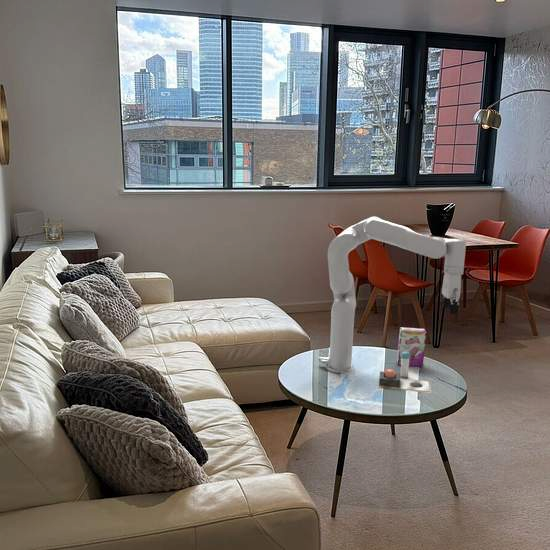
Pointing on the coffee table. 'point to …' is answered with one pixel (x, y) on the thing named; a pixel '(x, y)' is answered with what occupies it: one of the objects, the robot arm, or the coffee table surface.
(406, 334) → the candy bar box
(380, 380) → the drawing board
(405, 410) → the coffee table surface
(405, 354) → the cylinder
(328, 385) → the coffee table surface
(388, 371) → the button
